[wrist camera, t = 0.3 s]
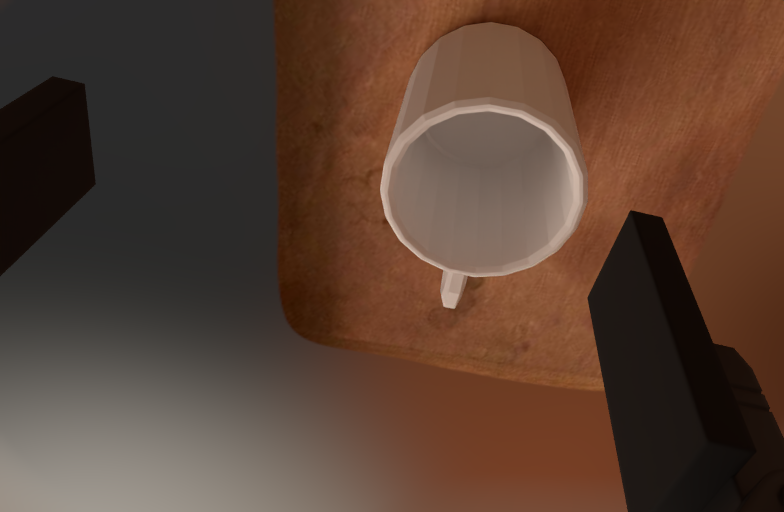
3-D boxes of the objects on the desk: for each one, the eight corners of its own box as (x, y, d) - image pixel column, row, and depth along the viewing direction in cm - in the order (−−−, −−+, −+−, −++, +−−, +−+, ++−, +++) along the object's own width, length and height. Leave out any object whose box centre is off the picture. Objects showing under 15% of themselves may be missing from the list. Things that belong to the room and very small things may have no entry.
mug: (387, 214, 38) (359, 325, 30) (421, 7, 30) (396, 81, 23) (521, 240, 37) (527, 358, 30) (587, 38, 30) (619, 123, 22)
